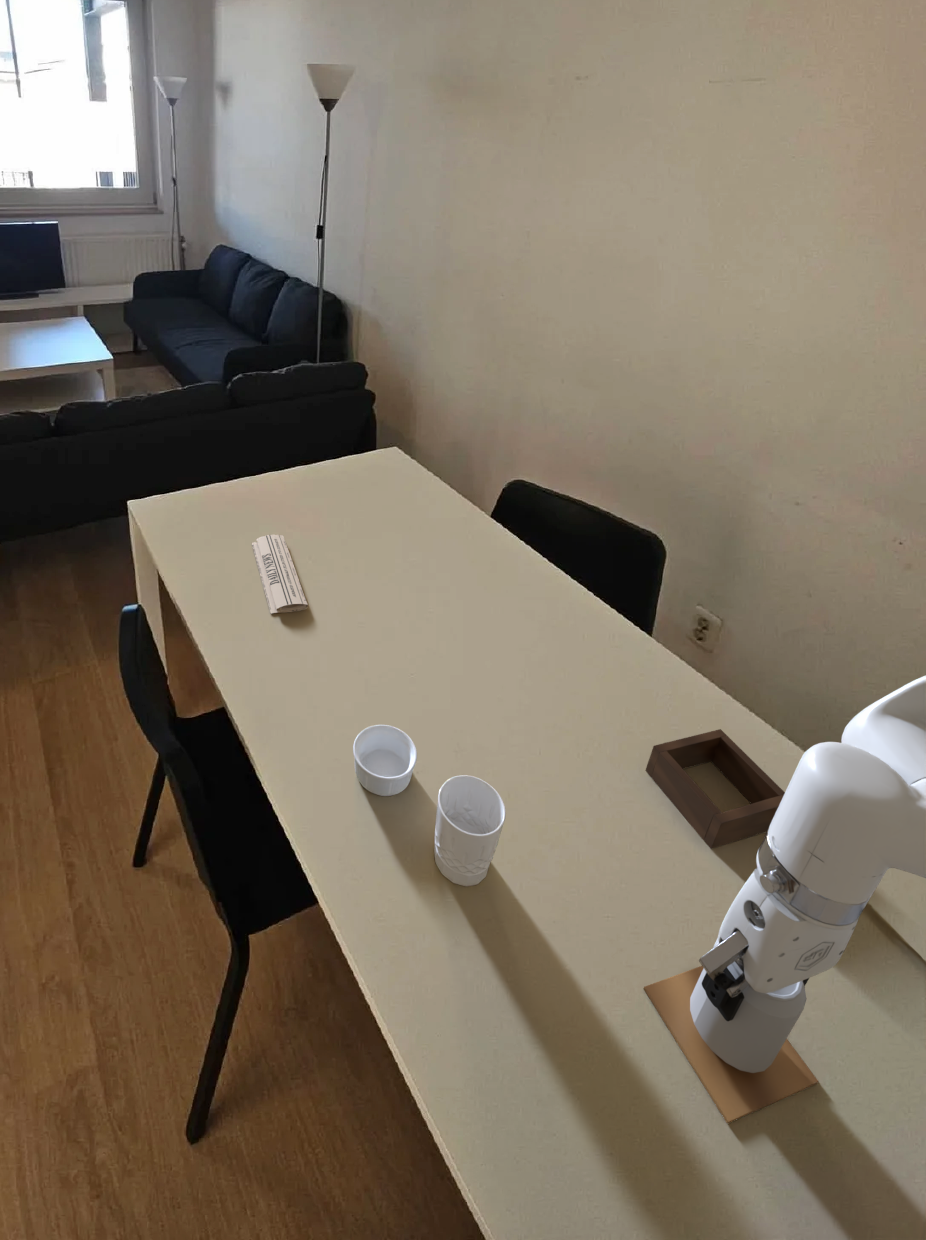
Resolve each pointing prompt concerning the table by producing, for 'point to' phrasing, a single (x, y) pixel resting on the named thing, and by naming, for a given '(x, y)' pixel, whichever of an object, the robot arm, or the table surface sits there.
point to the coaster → (721, 1080)
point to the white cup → (467, 828)
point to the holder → (695, 803)
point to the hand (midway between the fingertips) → (750, 988)
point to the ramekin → (384, 759)
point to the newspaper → (278, 575)
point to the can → (748, 1023)
